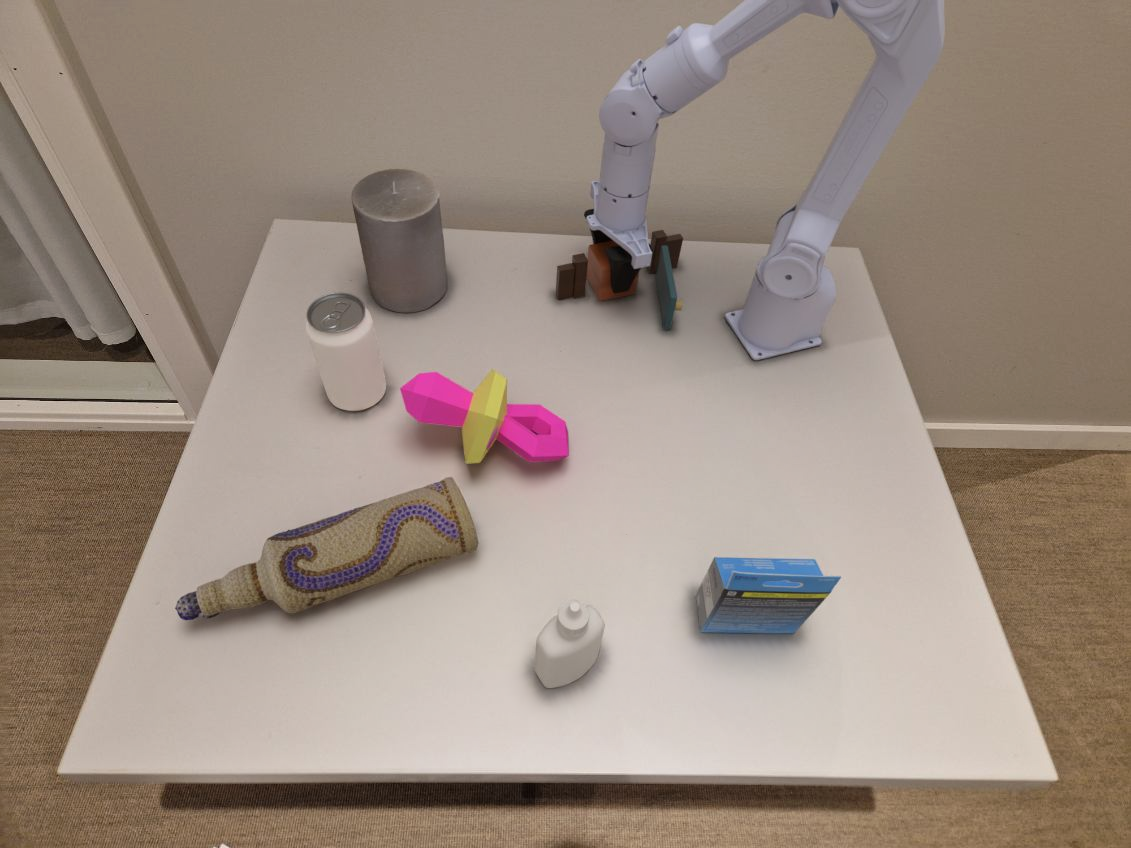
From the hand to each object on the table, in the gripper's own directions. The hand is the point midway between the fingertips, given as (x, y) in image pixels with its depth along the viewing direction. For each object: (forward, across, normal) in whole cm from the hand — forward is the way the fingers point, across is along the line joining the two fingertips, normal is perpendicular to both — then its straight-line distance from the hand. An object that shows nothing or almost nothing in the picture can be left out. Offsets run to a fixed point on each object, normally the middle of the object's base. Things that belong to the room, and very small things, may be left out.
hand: (612, 275), depth 92 cm
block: (+1, 0, 0) cm, 1 cm away
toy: (+2, +20, -22) cm, 29 cm away
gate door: (+1, +5, +5) cm, 8 cm away
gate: (+1, 0, +1) cm, 2 cm away
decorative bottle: (+2, +29, -38) cm, 48 cm away
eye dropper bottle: (+2, +44, -22) cm, 50 cm away
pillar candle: (+2, -6, -25) cm, 26 cm away
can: (+2, +8, -34) cm, 35 cm away
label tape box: (+2, +46, -5) cm, 46 cm away
